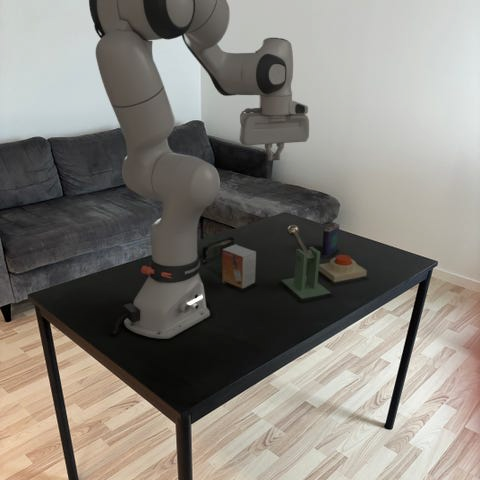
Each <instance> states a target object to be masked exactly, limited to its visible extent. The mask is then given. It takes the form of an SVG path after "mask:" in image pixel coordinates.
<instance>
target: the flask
mask: <svg viewBox="0 0 480 480" xmlns="http://www.w3.org/2000/svg"><path fill="white" fill-rule="evenodd" d="M339 232H340V224H339V223H337V222H335V221H330V225H329V227H326V228H324V229H323V234H322V246H321V247H322V248H321V254H322V255H323V256H328V255H331V254H332V255H334V254H335V253H336V252H337V251H338V243H339V242H338V241H339Z"/></svg>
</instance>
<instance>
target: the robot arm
mask: <svg viewBox="0 0 480 480" xmlns="http://www.w3.org/2000/svg"><path fill="white" fill-rule="evenodd" d="M88 6H89V13H90V16H91V19H92V21H93V26H94V30H95V32H96V34H97V36H98V37H99V38H100V39H98V41H97V44H96V46H95V60H96V63H97V67H98V72H99V76H100V79H101V82H102V85H103V87H104V91H105V93H106V96H107V98H108V101H109V103H110V105H111V108H112V110H113V113H114V116H115V117H116V120H117V122H118V124H119V127H120V129H121V132H122V134H123V137H124V140H125V146H126V154H127V155H126V157H124V160H123V162H122V166H121V177H122V181H123V183H124V184H125V186H126V187H127V188H128V189H129V190H131V191H133V192H134V193H136V194H137V195H140V197H142V198H143V197H144V198H146V199H151V200H154V201H159V202H161V203H162V214H161V217H160V218H158V219H157V220H155V222H153V223H152V224H151V227H150V231H149V236H150V237H149V238H150V247H151V248H150V249H151V258H150V261H149V266H147V265H142V267H141V269H140V272H141V273H142V274H143V275H147V276H148V277H147V279H146V280H145V282H144V283H143V285H142V287H141V289H140V290H139V291H138V293H137V295H136V296H135V298H134V300H133V303H132V302H130V303H126V304H123V305H122V308H123V314H122V315H121V316H119V317H118V319H117V320H116V321H115V322H114V329H113V330H112V331H111V334H112V335H113V336H115V335H117V334H118V332H119V326H120V324H121V322H123V325H124V327H125V328H127V329H128V330H129V331H131V332H133V333H135V334H138V335H141V336H143V337H148V338H152V339H157V340H158V339H160V340H161V339H162V340H167V339H171V338H173V337H175V336H177V335H178V334H180V333H182V332H184V331H185V330H187V329H189V328H191V327H193V326H195V325H196V324H198V323H200V322H202V321H204V320H205V319H208V318H209V317H210V316H211V311H210V310H209V308H208V307H207V302H206V301H207V300H206V293H205V287H204V283H203V281H202V279H201V276H200V270H201V261H200V255H199V254H198V227H199V222H200V219H201V216H202V214H203V213H204V212H205V210H206V209H207V208H208V207H210V206H211V205H212V204H213V203H214V202H215V201H216V199H217V197H218V195H219V192H220V188H221V181H220V174H219V172H218V170H217V168H216V167H215V166H214V165H213V164H211V163H209V162H208V161H206V160H204V159H201V158H200V157H197V156H193V155H187V154H183V153H182V154H181V153H176V152H174V151H173V150H171V148H170V146H169V141H168V138H169V137H170V136H171V134H172V132H173V131H174V129H175V125H176V117H175V115H174V111H173V108H172V105H171V102H170V99H169V96H168V93H167V91H166V88H165V85H164V82H163V79H162V77H161V74H160V71H159V70H158V66H157V65H156V62H155V60H154V56H153V55H154V54H153V42H154V41H156V40H173V39H177V38H179V37H181V38H182V41H183V43H184V44H185V46H186V48H187V49H188V51H189V52H190V53H191V54H192V56H193V57H194V58H195V59H196V61H197V62H198V64H199V65H200V66H201V67H202V68H203V70H205V72H206V74H207V75H208V76H209V77H210V79H211V82H212V85H213V86H214V88H215V89H216V91H217V92H218V93H219V94H220V95H222V96H224V97H229V96H230V97H231V96H259V97H258V105H259V107H252V108H250V107H249V108H245V109H244V110H242V111H241V113H240V115H239V123H240V127H239V142H240V143H241V145H243V146H258V145H260V146H261V145H264V149H265V151H266V152H267V160H268V161H271V162H272V161H280V160H281V153H282V152H283V150H284V148H285V144H290V143H291V144H292V143H305V142H307V141H308V139H309V137H310V119H309V116H308V115H307V114H308V112H309V106H308V105H306V104H303V103H301V102H298V101H295V100H293V91H292V82H293V78H294V53H293V47H292V43H291V42H290V41H289V40H287V39H286V38H282V37H280V38H279V37H267V38H265V39H263V41H262V44H261V47H260V48H259V49H257V50H255V51H254V52H226V51H224V50H222V49H221V47H220V46H219V43H220V42H221V41H222V39H223V38H224V36H225V34H226V33H227V31H228V28H229V24H230V17H231V14H230V13H231V12H230V6H229V4H228V1H227V0H88ZM273 144H274V145H275V144H276V147H277V148H276V150H275V152H273V151H272V149H273Z"/></svg>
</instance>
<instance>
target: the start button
mask: <svg viewBox="0 0 480 480" xmlns="http://www.w3.org/2000/svg"><path fill="white" fill-rule="evenodd" d="M335 258H336V262H335V263H336V264H338V265H345V266H346V265H350V264H351V259H352V257H351V256H350V255H348V254H338V255H336V256H335Z"/></svg>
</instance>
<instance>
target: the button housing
mask: <svg viewBox="0 0 480 480" xmlns="http://www.w3.org/2000/svg"><path fill="white" fill-rule="evenodd" d="M329 260H330V261H329V262H327V263H319V272H320V273H321V274H323V275H324V276H325V277H327V278H328V279H329V280H330V281H332V282H333V283H337V282H341V281H347V280H353V279H357V278H362V277H363V278H364V277H367V273H368V270H366V269H365V268H364V267H363V266H361V265H359V264H357V262H356V260H354V259H353V258H351V264H350V265H346V266H345V265H338V264H336V263H335V262H336V257H333V258H331V259H329Z"/></svg>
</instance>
